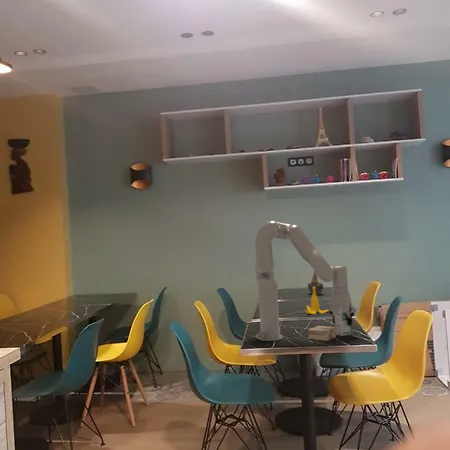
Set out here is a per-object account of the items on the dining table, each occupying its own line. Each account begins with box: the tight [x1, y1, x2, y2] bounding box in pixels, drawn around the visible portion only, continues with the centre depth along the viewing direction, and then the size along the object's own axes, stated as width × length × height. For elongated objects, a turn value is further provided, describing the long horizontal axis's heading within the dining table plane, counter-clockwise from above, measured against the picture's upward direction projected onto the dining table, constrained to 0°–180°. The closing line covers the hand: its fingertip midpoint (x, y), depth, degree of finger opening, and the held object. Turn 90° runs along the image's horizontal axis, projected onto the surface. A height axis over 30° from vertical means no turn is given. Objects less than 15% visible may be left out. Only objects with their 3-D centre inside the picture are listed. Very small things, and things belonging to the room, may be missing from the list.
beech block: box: [308, 325, 337, 342], centre depth 258 cm, size 10×10×5 cm
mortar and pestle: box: [307, 269, 324, 296], centre depth 412 cm, size 15×17×20 cm
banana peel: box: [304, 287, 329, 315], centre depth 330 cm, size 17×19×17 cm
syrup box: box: [334, 307, 352, 337], centre depth 262 cm, size 6×6×14 cm
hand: (342, 324), depth 262 cm, fingers closed on syrup box, 7 cm apart
